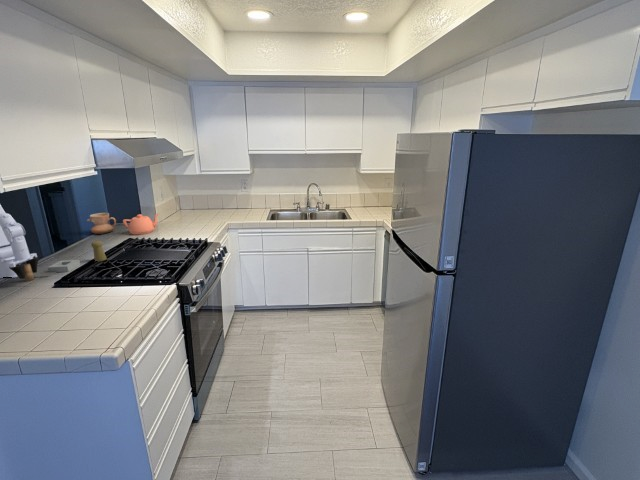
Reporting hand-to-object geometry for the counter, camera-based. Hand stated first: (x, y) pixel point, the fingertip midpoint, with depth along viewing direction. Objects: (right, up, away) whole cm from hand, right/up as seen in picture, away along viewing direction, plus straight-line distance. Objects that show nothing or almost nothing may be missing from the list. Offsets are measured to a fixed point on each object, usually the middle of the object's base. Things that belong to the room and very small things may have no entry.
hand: (28, 275), depth 166 cm
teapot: (+14, +23, +83) cm, 87 cm away
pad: (+3, 0, +8) cm, 8 cm away
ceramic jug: (-17, +23, +85) cm, 90 cm away
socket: (+7, +2, +14) cm, 16 cm away
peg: (0, -2, +1) cm, 2 cm away
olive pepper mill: (+18, +6, +27) cm, 33 cm away
